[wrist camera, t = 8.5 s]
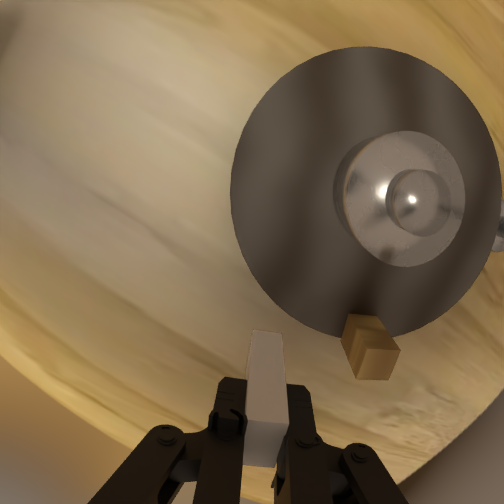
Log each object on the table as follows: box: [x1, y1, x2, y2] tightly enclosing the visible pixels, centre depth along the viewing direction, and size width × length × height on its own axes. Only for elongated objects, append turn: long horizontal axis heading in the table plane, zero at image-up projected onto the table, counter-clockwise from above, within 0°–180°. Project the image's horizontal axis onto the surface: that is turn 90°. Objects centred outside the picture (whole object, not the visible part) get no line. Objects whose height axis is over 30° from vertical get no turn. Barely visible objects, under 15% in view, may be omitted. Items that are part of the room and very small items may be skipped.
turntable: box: [230, 47, 502, 380], centre depth 19 cm, size 22×22×7 cm
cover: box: [333, 131, 465, 267], centre depth 18 cm, size 8×8×6 cm
